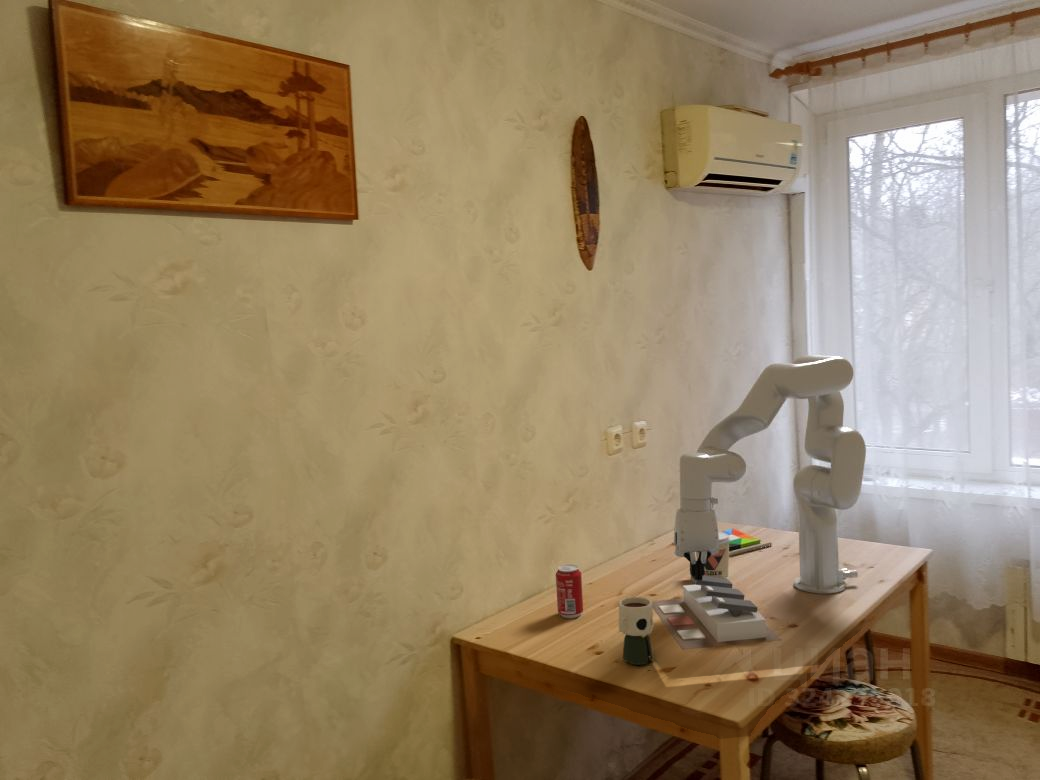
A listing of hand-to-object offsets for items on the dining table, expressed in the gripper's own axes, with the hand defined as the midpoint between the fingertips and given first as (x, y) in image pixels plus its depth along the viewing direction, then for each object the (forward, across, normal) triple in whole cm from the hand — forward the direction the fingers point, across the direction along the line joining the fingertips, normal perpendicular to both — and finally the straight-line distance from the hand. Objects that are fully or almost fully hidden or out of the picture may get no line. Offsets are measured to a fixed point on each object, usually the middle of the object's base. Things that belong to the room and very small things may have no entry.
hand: (697, 578), depth 200 cm
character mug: (+10, +20, +24) cm, 33 cm away
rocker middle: (+3, -3, +8) cm, 9 cm away
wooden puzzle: (+8, -26, -52) cm, 59 cm away
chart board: (+9, -1, +8) cm, 12 cm away
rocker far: (+3, -3, 0) cm, 4 cm away
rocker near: (+3, -3, +16) cm, 16 cm away
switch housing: (+7, -4, +8) cm, 11 cm away
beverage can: (+10, +30, -6) cm, 32 cm away
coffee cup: (+8, -12, -23) cm, 27 cm away
